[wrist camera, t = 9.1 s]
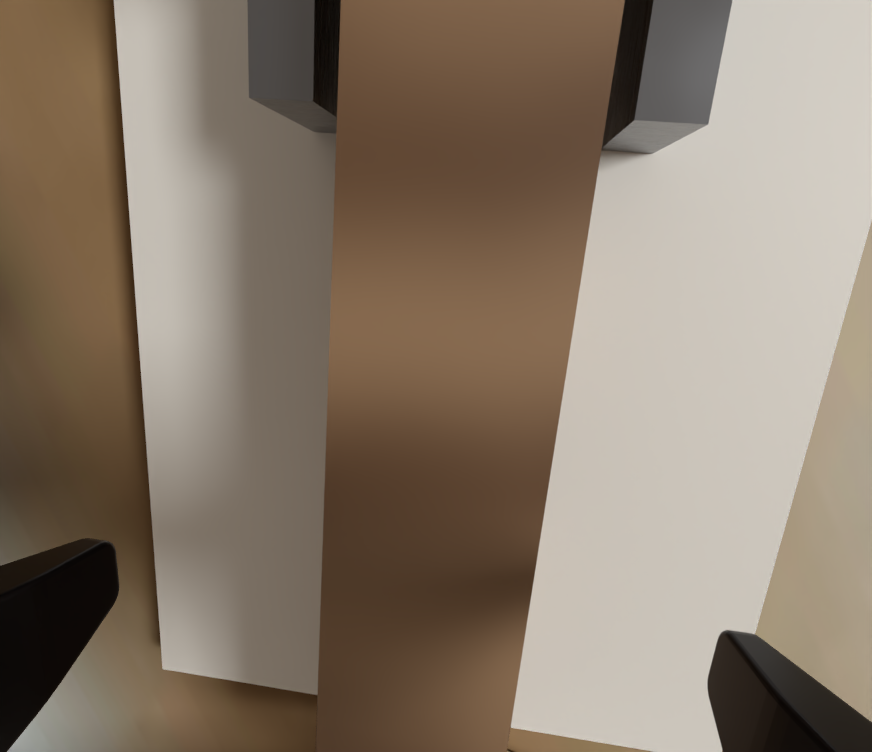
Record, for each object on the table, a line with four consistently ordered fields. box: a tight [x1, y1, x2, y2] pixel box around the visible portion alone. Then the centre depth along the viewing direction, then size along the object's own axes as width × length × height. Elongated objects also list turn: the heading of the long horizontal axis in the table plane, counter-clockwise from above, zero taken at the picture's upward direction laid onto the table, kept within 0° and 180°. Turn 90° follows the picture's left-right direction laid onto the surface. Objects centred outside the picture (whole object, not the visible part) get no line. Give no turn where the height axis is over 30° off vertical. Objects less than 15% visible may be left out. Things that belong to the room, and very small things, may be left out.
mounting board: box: [114, 0, 872, 752], centre depth 15 cm, size 23×18×1 cm
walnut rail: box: [316, 0, 625, 752], centre depth 12 cm, size 22×4×5 cm, turn 175°
